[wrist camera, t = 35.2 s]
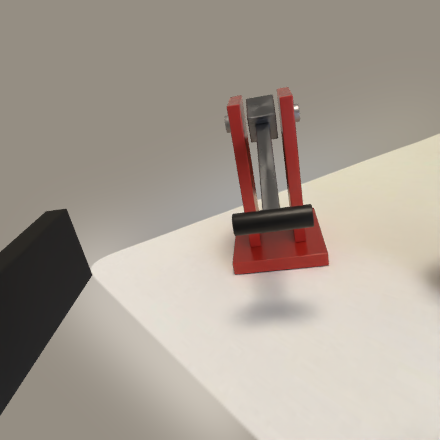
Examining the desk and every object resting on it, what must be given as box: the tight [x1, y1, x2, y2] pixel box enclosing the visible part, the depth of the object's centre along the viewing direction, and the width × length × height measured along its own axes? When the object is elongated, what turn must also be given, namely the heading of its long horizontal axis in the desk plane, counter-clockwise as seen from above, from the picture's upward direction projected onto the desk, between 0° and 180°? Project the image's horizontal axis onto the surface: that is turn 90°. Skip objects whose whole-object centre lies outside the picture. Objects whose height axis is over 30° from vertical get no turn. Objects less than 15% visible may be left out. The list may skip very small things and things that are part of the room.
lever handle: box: [232, 95, 314, 236], centre depth 28 cm, size 13×5×2 cm, turn 175°
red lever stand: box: [225, 87, 329, 274], centre depth 34 cm, size 9×8×14 cm
